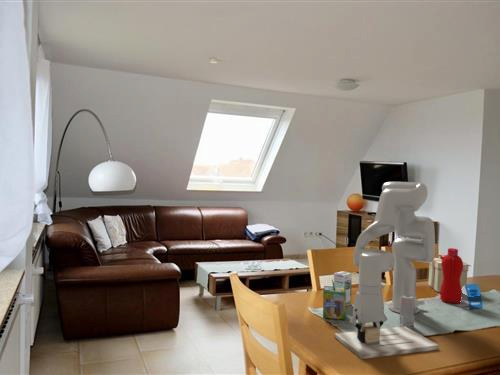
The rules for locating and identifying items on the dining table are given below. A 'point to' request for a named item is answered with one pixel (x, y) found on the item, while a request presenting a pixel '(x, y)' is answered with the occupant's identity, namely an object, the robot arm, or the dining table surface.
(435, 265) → the gift box
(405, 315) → the energy drink
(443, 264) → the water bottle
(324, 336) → the dining table surface
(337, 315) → the chalk box
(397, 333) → the board
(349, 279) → the syrup box
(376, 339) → the block
